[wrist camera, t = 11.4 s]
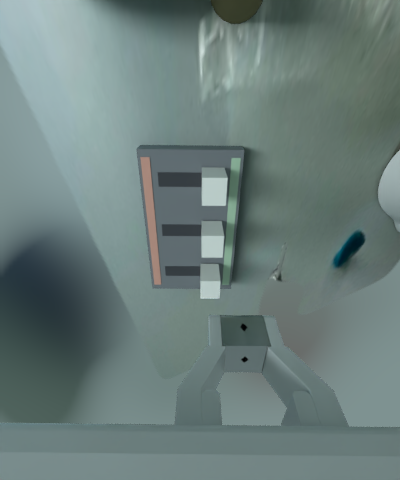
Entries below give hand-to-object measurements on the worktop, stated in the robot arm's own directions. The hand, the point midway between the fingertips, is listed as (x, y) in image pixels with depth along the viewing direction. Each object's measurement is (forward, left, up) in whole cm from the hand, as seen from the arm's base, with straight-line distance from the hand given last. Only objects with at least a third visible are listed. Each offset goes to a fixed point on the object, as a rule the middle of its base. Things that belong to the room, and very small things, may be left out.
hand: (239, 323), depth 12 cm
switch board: (+3, +10, -29) cm, 30 cm away
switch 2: (0, +18, -26) cm, 31 cm away
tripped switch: (0, +10, -26) cm, 28 cm away
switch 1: (0, +2, -26) cm, 26 cm away
